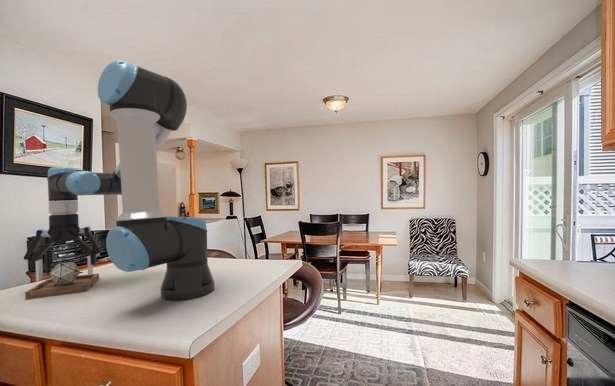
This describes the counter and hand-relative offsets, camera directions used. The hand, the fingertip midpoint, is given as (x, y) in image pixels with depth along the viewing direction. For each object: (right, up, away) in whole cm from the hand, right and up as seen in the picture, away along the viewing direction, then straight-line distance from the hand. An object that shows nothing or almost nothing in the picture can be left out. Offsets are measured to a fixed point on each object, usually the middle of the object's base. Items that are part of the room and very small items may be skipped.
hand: (65, 277), depth 96 cm
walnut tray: (0, -4, 0) cm, 4 cm away
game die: (0, -3, 0) cm, 3 cm away
